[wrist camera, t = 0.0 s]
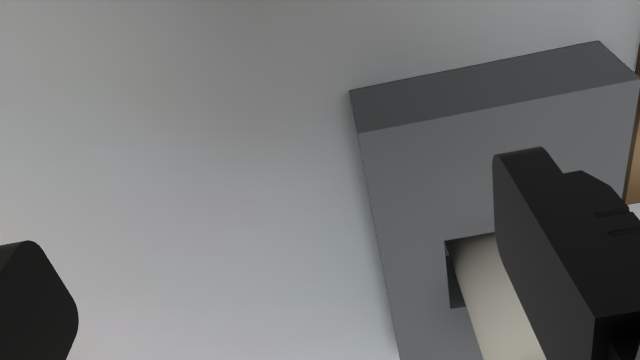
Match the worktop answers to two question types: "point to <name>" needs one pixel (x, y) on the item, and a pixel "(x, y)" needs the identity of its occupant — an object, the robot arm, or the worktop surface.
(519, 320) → the plug
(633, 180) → the pad
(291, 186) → the worktop surface
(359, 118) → the grey base plate
